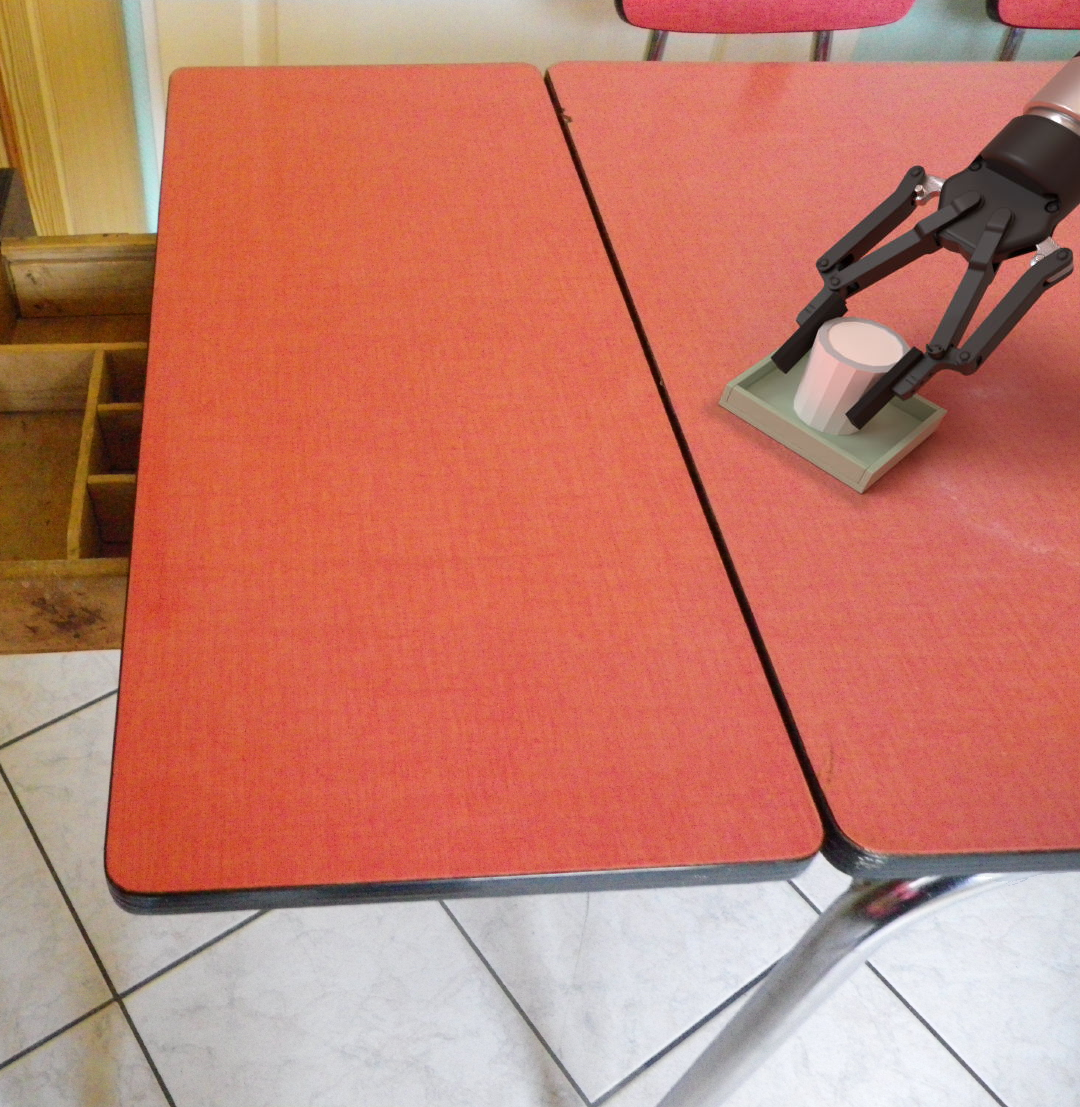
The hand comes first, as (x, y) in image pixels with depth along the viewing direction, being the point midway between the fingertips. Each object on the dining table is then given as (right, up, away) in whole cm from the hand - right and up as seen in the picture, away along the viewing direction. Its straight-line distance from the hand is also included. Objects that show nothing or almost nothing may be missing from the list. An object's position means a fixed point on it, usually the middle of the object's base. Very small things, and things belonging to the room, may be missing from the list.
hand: (814, 393), depth 79 cm
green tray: (+3, -1, +4) cm, 5 cm away
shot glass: (+3, -1, +4) cm, 5 cm away
